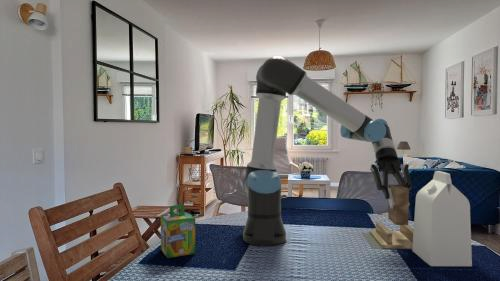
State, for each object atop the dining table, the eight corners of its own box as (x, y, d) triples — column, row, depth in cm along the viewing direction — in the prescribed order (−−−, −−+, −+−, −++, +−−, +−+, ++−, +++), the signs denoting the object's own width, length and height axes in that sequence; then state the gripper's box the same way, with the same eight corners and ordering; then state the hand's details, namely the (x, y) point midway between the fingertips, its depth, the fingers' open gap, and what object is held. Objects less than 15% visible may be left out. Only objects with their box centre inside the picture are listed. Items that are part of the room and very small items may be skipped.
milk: (472, 267, 100) (474, 175, 99) (430, 267, 100) (432, 175, 99) (449, 251, 112) (450, 169, 111) (412, 251, 112) (413, 169, 111)
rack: (381, 247, 115) (381, 234, 114) (369, 233, 130) (369, 221, 129) (426, 248, 114) (426, 234, 113) (409, 234, 129) (409, 221, 128)
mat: (372, 249, 114) (372, 248, 114) (360, 233, 130) (360, 232, 130) (436, 250, 113) (436, 249, 113) (417, 234, 129) (417, 233, 129)
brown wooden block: (395, 225, 118) (396, 189, 117) (388, 218, 126) (388, 184, 125) (408, 225, 117) (408, 189, 117) (399, 218, 125) (400, 184, 125)
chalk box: (167, 259, 107) (166, 210, 106) (160, 249, 115) (159, 204, 114) (196, 254, 111) (196, 207, 111) (187, 245, 119) (187, 201, 119)
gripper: (406, 159, 137) (422, 212, 121) (360, 159, 138) (371, 212, 123) (411, 146, 131) (429, 200, 116) (364, 146, 133) (376, 200, 117)
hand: (399, 206), depth 119 cm, fingers closed on brown wooden block, 4 cm apart
